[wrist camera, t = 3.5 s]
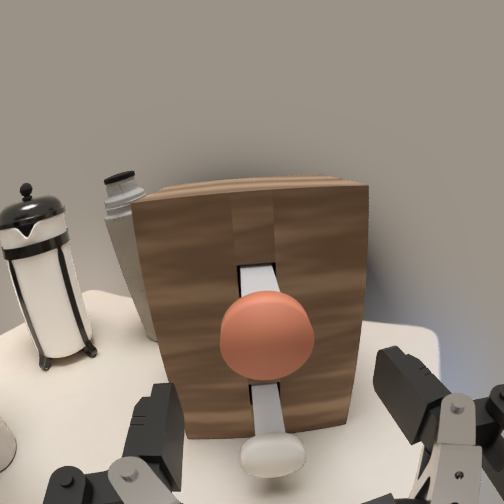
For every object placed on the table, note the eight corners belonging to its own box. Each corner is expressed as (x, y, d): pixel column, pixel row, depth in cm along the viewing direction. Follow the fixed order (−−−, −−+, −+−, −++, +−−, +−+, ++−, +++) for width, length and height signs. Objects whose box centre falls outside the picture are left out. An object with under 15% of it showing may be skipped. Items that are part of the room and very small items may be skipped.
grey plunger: (304, 473, 20) (307, 442, 19) (244, 480, 20) (237, 449, 18) (283, 377, 33) (283, 343, 31) (240, 381, 33) (236, 347, 31)
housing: (345, 424, 30) (368, 185, 22) (187, 438, 29) (130, 203, 21) (319, 356, 43) (320, 174, 35) (198, 366, 43) (169, 185, 35)
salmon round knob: (312, 374, 16) (315, 298, 15) (225, 383, 16) (214, 307, 15) (281, 283, 29) (279, 232, 28) (229, 287, 29) (224, 237, 28)
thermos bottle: (149, 320, 56) (102, 177, 45) (189, 311, 57) (146, 164, 46) (145, 345, 49) (86, 185, 37) (189, 336, 49) (138, 169, 38)
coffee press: (121, 333, 52) (88, 168, 43) (67, 382, 37) (9, 184, 28) (65, 319, 57) (34, 182, 48) (15, 356, 42) (-31, 199, 33)
